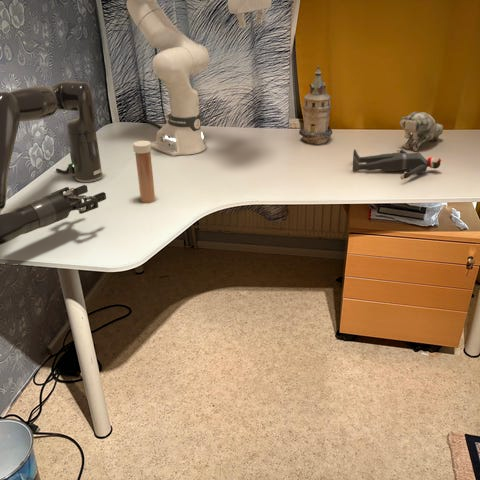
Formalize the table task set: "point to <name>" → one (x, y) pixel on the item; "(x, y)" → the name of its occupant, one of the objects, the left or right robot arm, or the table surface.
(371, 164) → the toy
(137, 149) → the lid
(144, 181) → the tan tall cylinder
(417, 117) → the figurine
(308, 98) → the miniature building
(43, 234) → the table surface
